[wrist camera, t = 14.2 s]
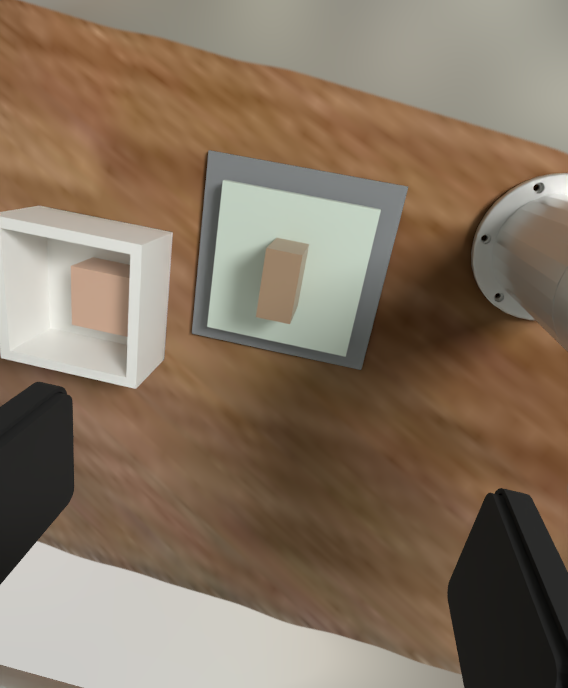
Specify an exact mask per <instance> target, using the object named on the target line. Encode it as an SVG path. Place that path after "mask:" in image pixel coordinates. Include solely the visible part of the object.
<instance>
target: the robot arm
mask: <svg viewBox="0 0 568 688" xmlns="http://www.w3.org/2000/svg"><path fill="white" fill-rule="evenodd" d="M536 184H537V185H538V189H537V190H535V191H534V190H533V187H534V185H536ZM483 235H486V239H485V240H481V237H482V236H483ZM471 266H472V270H473V274H474V278H475V280H476V282H477V284H478V286H479V288H480V290H481V291H482V293H483V294H484V295H485V297H486V298H487V299H488V300H489V301H490V302H491V303H492V304H493V305H494V306H496V307H497V308H499V309H500V310H502V311H503V312H505V313H507V314H510V315H512V316H515V317H517V318H522V319H527V320H536V321H537V322H538V323H539V324H540V325H541V326H542V327H543V328H544V329H545V330H546V331H547V332H548V333H549V334H550V335H551V336H552V337H553V338H554V339H555V340H556V341H557V342H558V343H559V344H560V345H561V346H562V347H563V348H564V349H565V350H566V351H567V352H568V173H553V174H548V175H543V176H538V177H535V178H533V179H530V180H527V181H525V182H522V183H521V184H519V185H517V186H516V187H514V188H512V189H510V190H509V191H507V192H506V193H505V194H504V195H503V196H502V197H500V198H499V199H498V200H497V201H496V202H495V203H494V204H493V205H492V206H491V208H490V209H489V210H488V211H487V212H486V214H485V215H484V217H483V219H482V221H481V222H480V224H479V226H478V228H477V231H476V233H475V236H474V239H473V244H472V250H471ZM497 293H499V296H498V297H494V296H495V294H497ZM73 491H74V457H73V406H72V398H71V396H70V395H67V392H66V390H65V388H63V387H60V386H56V385H52V384H47V383H43V382H36V383H34V384H32V385H31V386H29V387H28V388H27V389H25V390H24V391H22V392H21V393H20V394H18V395H17V396H15V397H14V398H12V399H11V400H10V401H8V402H7V403H5V404H4V405H2V406H1V407H0V584H1V583H2V582H3V581H4V580H5V578H6V577H7V576H8V575H9V574H10V572H11V571H12V570H13V569H14V568H15V567H16V565H17V564H18V563H19V562H20V561H21V559H22V558H23V557H24V556H25V555H26V553H27V552H28V551H29V550H30V548H31V547H32V546H33V545H34V544H35V543H36V542H37V540H38V539H39V538H40V537H41V536H42V534H43V533H44V532H45V531H46V530H47V528H48V527H49V526H50V525H51V524H52V522H53V521H54V520H55V519H56V518H57V517H58V515H59V514H60V513H61V512H62V511H63V509H64V508H65V507H66V506H67V505H68V503H69V502H70V500H71V498H72V495H73ZM448 603H449V609H450V614H451V619H452V624H453V630H454V635H455V640H456V646H457V651H458V656H459V662H460V667H461V672H462V678H463V683H464V687H465V688H568V572H567V570H566V568H565V566H564V563H563V561H562V559H561V557H560V555H559V553H558V551H557V549H556V547H555V545H554V543H553V541H552V539H551V537H550V535H549V533H548V531H547V529H546V526H545V524H544V522H543V520H542V518H541V516H540V514H539V512H538V510H537V508H536V506H535V504H534V502H533V500H532V498H531V497H530V496H529V495H528V494H524V493H520V492H516V491H511V490H507V489H503V488H500V489H498V490H497V491H496V492H495V494H493V493H488V494H487V495H486V497H485V499H484V501H483V504H482V506H481V508H480V511H479V513H478V515H477V518H476V520H475V522H474V525H473V527H472V529H471V532H470V534H469V536H468V539H467V541H466V543H465V546H464V548H463V550H462V553H461V555H460V558H459V560H458V562H457V565H456V567H455V569H454V572H453V574H452V576H451V579H450V581H449V585H448ZM0 688H82V687H79V686H75V685H71V684H67V683H64V682H60V681H57V680H53V679H50V678H46V677H42V676H39V675H35V674H31V673H28V672H24V671H21V670H17V669H13V668H9V667H6V666H3V665H0Z"/></svg>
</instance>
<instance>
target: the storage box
mask: <svg viewBox="0 0 568 688" xmlns="http://www.w3.org/2000/svg"><path fill="white" fill-rule="evenodd" d="M172 236H173V232H169V231H164V230H159V229H154V228H149V227H144V226H139V225H134V224H129V223H124V222H119V221H114V220H109V219H104V218H99V217H94V216H89V215H84V214H79V213H74V212H69V211H64V210H59V209H54V208H49V207H43V206H35V207H28V208H22V209H16V210H10V211H4V212H0V353H1V358H3V359H7V360H12V361H16V362H20V363H25V364H29V365H34V366H38V367H42V368H47V369H51V370H56V371H60V372H64V373H69V374H73V375H78V376H82V377H86V378H91V379H95V380H99V381H104V382H108V383H113V384H117V385H121V386H126V387H130V388H135V389H136V388H137V387H138V386H139V385H140V384H141V383H142V382H143V381H144V380H145V379H146V378H147V377H148V376H149V375H150V374H151V373H152V372H153V370H154V369H155V368H156V367H157V366H158V365H159V364H160V363H161V362H162V361H163V360H164V354H165V339H166V324H167V309H168V295H169V280H170V265H171V250H172Z"/></svg>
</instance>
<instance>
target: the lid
mask: <svg viewBox="0 0 568 688" xmlns="http://www.w3.org/2000/svg"><path fill="white" fill-rule="evenodd" d="M380 212H381V209H378V208H372V207H367V206H362V205H357V204H351V203H346V202H341V201H336V200H330V199H325V198H320V197H314V196H309V195H304V194H299V193H293V192H288V191H283V190H277V189H272V188H267V187H262V186H256V185H251V184H246V183H241V182H235V181H230V180H223V183H222V193H221V202H220V211H219V221H218V230H217V239H216V249H215V258H214V267H213V277H212V286H211V295H210V305H209V314H208V323H207V327H210V328H215V329H219V330H224V331H229V332H233V333H238V334H243V335H247V336H252V337H257V338H261V339H266V340H270V341H275V342H280V343H284V344H289V345H294V346H298V347H303V348H308V349H312V350H317V351H321V352H326V353H331V354H335V355H340V356H345V357H346V353H347V349H348V345H349V341H350V337H351V333H352V328H353V324H354V320H355V316H356V312H357V308H358V303H359V299H360V295H361V291H362V287H363V283H364V279H365V274H366V270H367V266H368V262H369V258H370V254H371V249H372V245H373V241H374V237H375V233H376V229H377V225H378V220H379V216H380Z"/></svg>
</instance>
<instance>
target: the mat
mask: <svg viewBox="0 0 568 688" xmlns="http://www.w3.org/2000/svg"><path fill="white" fill-rule="evenodd" d="M223 180H230V181H235V182H241V183H246V184H251V185H256V186H262V187H267V188H272V189H277V190H283V191H288V192H293V193H299V194H304V195H309V196H314V197H320V198H325V199H330V200H336V201H341V202H346V203H351V204H357V205H362V206H367V207H372V208H378V209H381V212H380V216H379V220H378V225H377V229H376V233H375V237H374V241H373V245H372V249H371V254H370V258H369V262H368V266H367V270H366V274H365V279H364V283H363V287H362V291H361V295H360V299H359V303H358V308H357V312H356V316H355V320H354V324H353V328H352V333H351V337H350V341H349V345H348V349H347V353H346V357H345V356H340V355H335V354H331V353H326V352H321V351H317V350H312V349H308V348H303V347H298V346H294V345H289V344H284V343H280V342H275V341H270V340H266V339H261V338H257V337H252V336H247V335H243V334H238V333H233V332H229V331H224V330H219V329H215V328H210V327H207V323H208V314H209V305H210V295H211V286H212V277H213V267H214V258H215V249H216V239H217V230H218V221H219V211H220V202H221V193H222V183H223ZM407 190H408V187H407V186H402V185H396V184H391V183H385V182H380V181H374V180H369V179H363V178H358V177H352V176H347V175H341V174H336V173H331V172H325V171H320V170H314V169H309V168H303V167H298V166H292V165H287V164H281V163H276V162H270V161H265V160H260V159H254V158H249V157H243V156H238V155H232V154H227V153H221V152H216V151H210V150H209V152H208V163H207V174H206V185H205V196H204V206H203V217H202V228H201V239H200V250H199V261H198V272H197V283H196V294H195V304H194V315H193V326H192V334H197V335H201V336H206V337H211V338H215V339H220V340H224V341H229V342H234V343H238V344H243V345H248V346H252V347H257V348H261V349H266V350H271V351H275V352H280V353H285V354H289V355H294V356H299V357H303V358H308V359H312V360H317V361H322V362H326V363H331V364H336V365H340V366H345V367H350V368H354V369H359V370H361V369H362V365H363V361H364V357H365V354H366V350H367V346H368V342H369V338H370V334H371V330H372V326H373V322H374V318H375V315H376V311H377V307H378V303H379V299H380V295H381V291H382V287H383V283H384V279H385V276H386V272H387V268H388V264H389V260H390V256H391V252H392V248H393V244H394V241H395V237H396V233H397V229H398V225H399V221H400V217H401V213H402V209H403V205H404V202H405V198H406V194H407Z"/></svg>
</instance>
